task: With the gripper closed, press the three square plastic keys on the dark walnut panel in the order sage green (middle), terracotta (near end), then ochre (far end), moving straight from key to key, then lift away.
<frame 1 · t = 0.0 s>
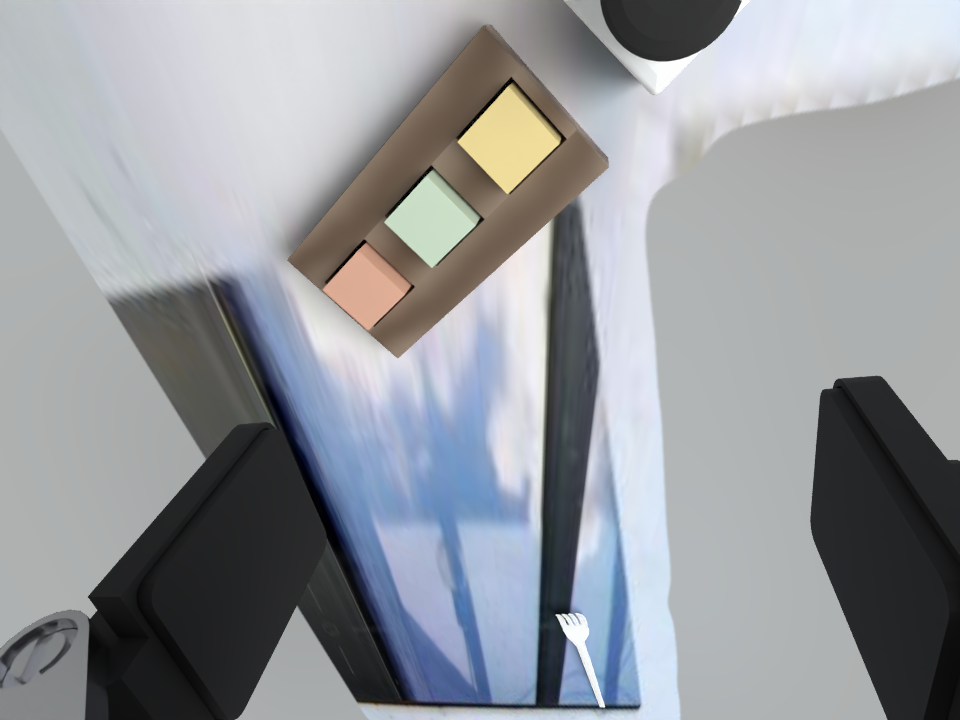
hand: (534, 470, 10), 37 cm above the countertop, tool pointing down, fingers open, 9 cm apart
sage key: (434, 217, 44), point 3 cm above the countertop, slide at 0.0 cm
terracotta key: (369, 284, 48), point 3 cm above the countertop, slide at 0.0 cm
key panel: (442, 206, 47), on the countertop
ochre key: (510, 138, 41), point 3 cm above the countertop, slide at 0.0 cm
fork: (585, 653, 72), on the countertop
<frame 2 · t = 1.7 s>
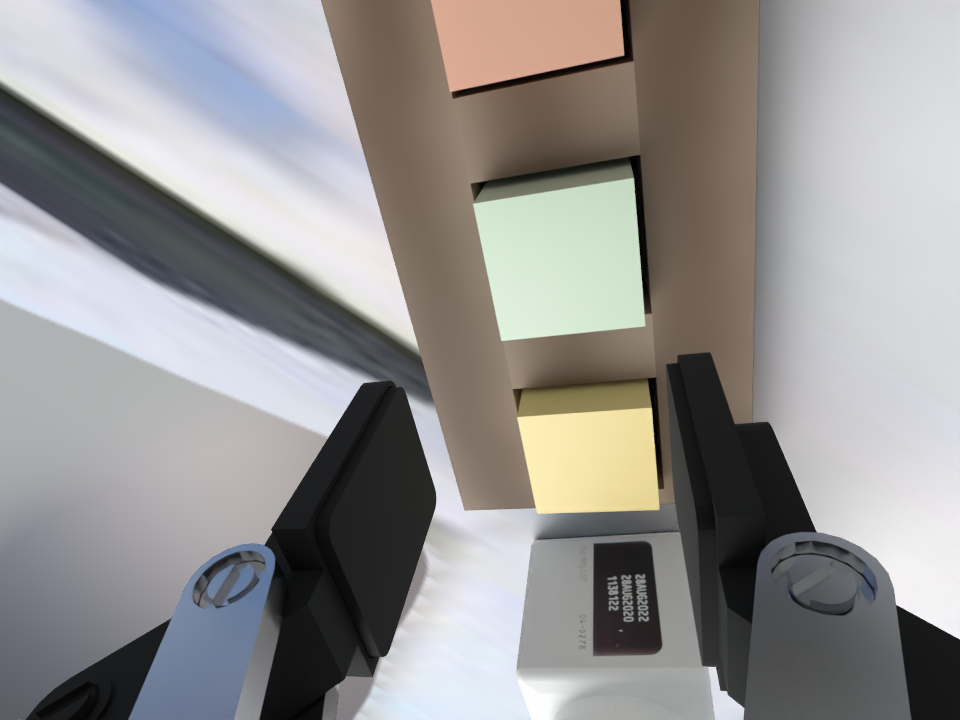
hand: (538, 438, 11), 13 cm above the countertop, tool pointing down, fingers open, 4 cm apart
sage key: (563, 250, 20), point 3 cm above the countertop, slide at 0.0 cm
container: (615, 581, 32), on the countertop
key panel: (567, 223, 23), on the countertop
ochre key: (590, 440, 24), point 3 cm above the countertop, slide at 0.0 cm
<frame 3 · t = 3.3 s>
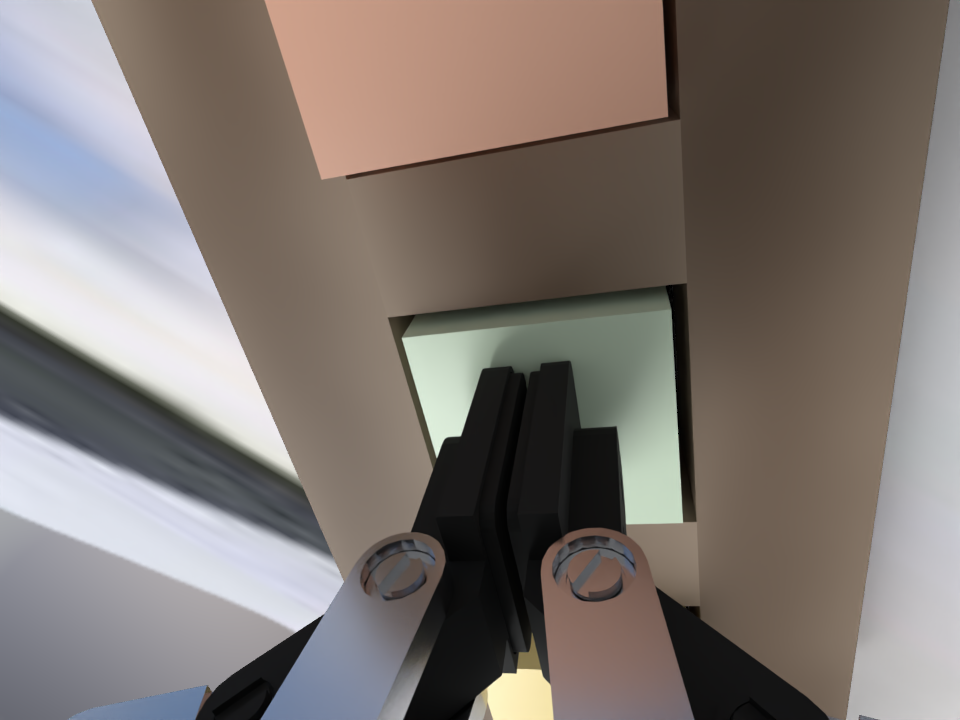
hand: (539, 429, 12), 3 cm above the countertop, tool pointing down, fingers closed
sage key: (553, 393, 13), point 2 cm above the countertop, slide at 1.2 cm, touching gripper
key panel: (558, 352, 14), on the countertop
ochre key: (593, 674, 16), point 3 cm above the countertop, slide at 0.0 cm
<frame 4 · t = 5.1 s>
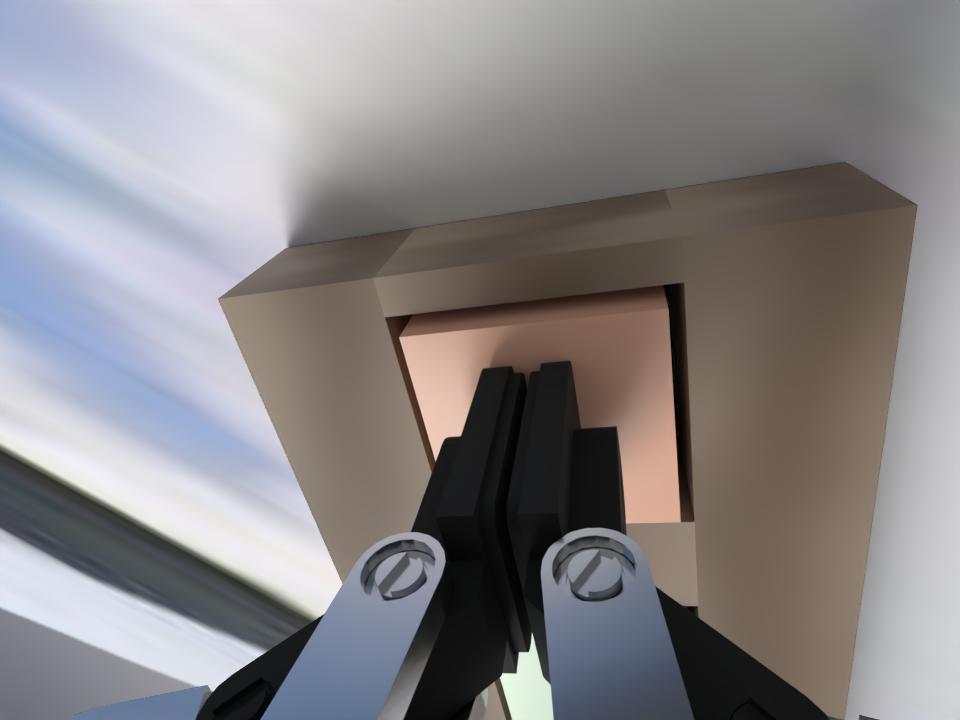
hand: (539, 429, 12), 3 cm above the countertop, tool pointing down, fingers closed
sage key: (592, 633, 17), point 2 cm above the countertop, slide at 1.2 cm
terracotta key: (551, 392, 13), point 2 cm above the countertop, slide at 1.2 cm, touching gripper
key panel: (592, 581, 18), on the countertop
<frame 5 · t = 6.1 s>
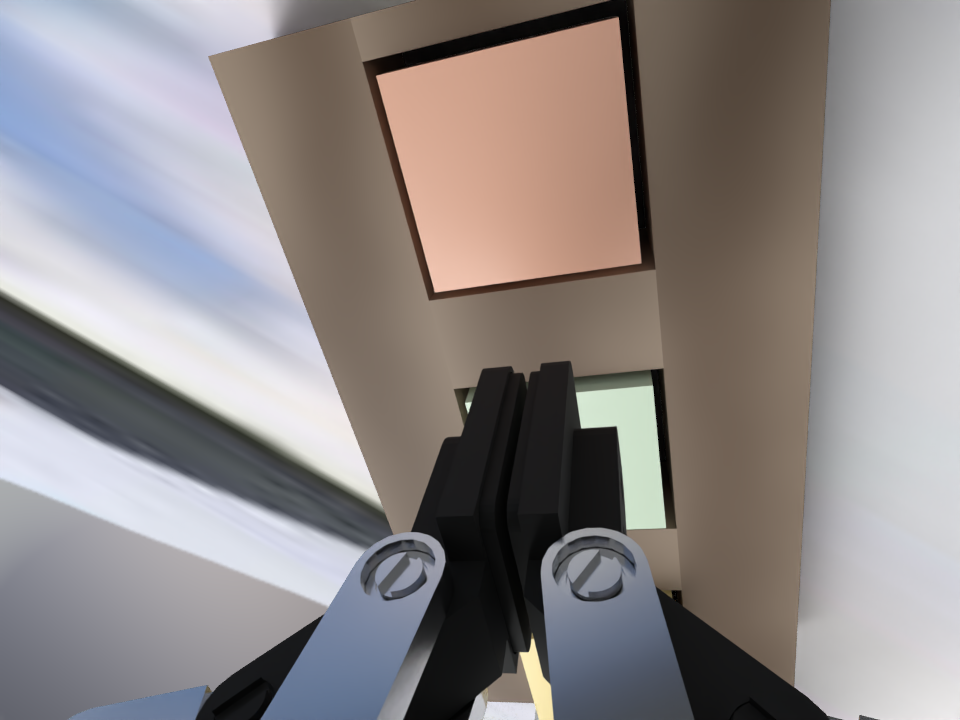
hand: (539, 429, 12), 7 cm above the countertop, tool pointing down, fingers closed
sage key: (570, 434, 18), point 2 cm above the countertop, slide at 1.2 cm
terracotta key: (521, 158, 14), point 2 cm above the countertop, slide at 1.2 cm
key panel: (572, 400, 19), on the countertop
ochre key: (602, 645, 20), point 3 cm above the countertop, slide at 0.0 cm
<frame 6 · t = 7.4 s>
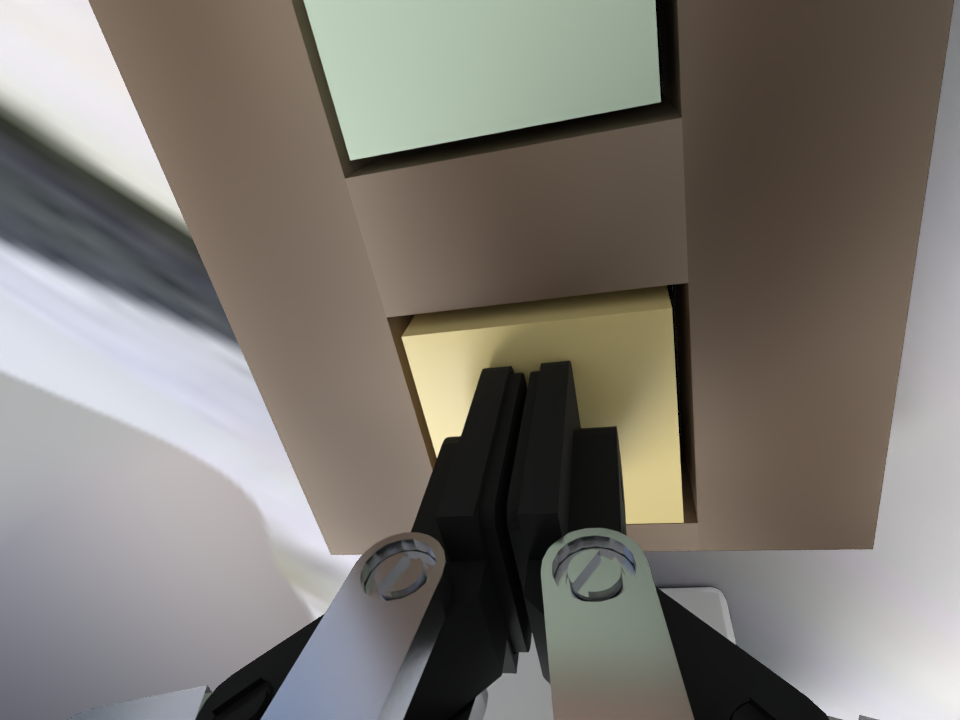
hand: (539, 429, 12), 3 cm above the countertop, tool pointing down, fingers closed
container: (607, 659, 20), on the countertop
ochre key: (553, 392, 13), point 2 cm above the countertop, slide at 1.2 cm, touching gripper
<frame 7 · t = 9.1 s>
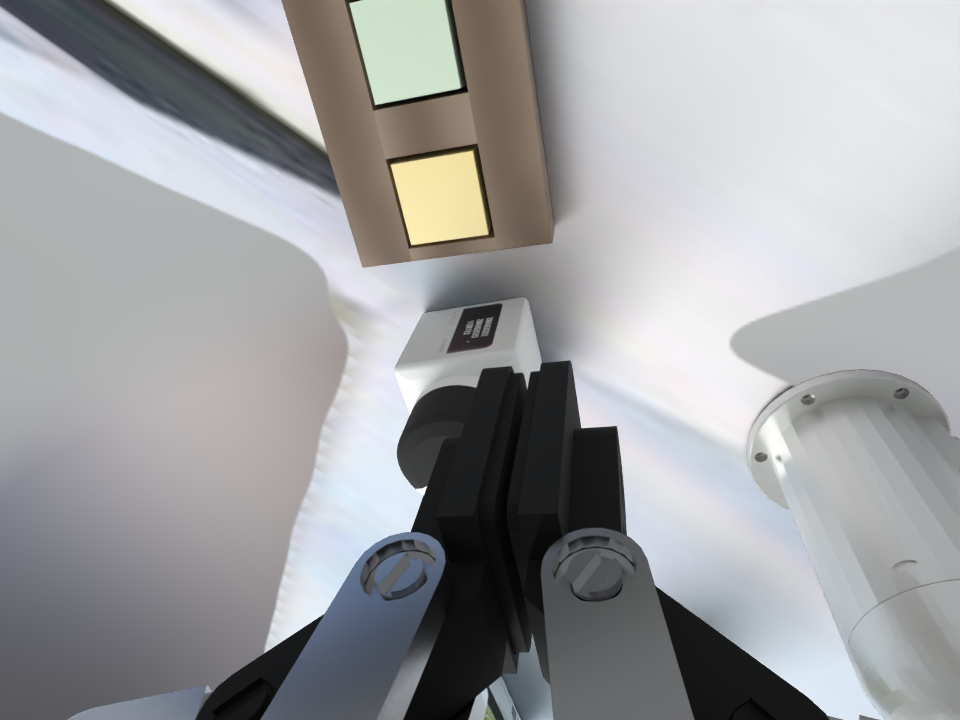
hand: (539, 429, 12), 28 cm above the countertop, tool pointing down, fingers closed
sage key: (413, 44, 32), point 2 cm above the countertop, slide at 1.2 cm
container: (486, 349, 43), on the countertop
key panel: (421, 42, 33), on the countertop
tea box: (467, 686, 66), on the countertop
ochre key: (445, 193, 36), point 2 cm above the countertop, slide at 1.2 cm
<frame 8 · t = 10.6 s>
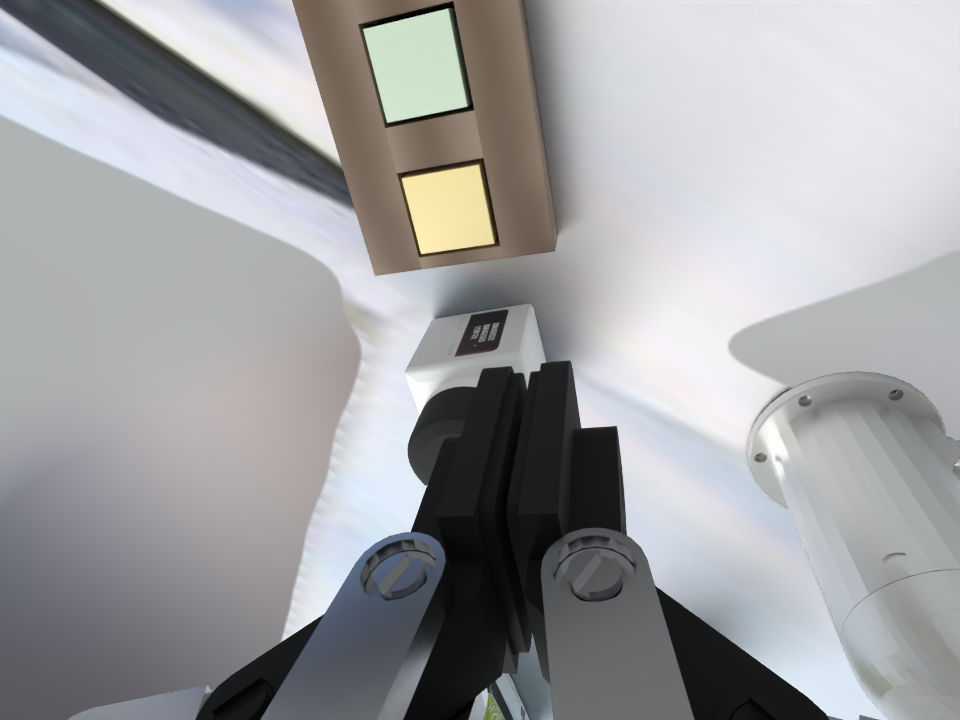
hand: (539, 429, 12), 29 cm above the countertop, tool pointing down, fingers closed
sage key: (422, 66, 34), point 2 cm above the countertop, slide at 1.2 cm
container: (493, 354, 45), on the countertop
key panel: (430, 64, 35), on the countertop
tea box: (477, 687, 67), on the countertop
ochre key: (453, 204, 38), point 2 cm above the countertop, slide at 1.2 cm
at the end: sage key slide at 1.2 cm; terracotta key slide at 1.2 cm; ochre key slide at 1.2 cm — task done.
